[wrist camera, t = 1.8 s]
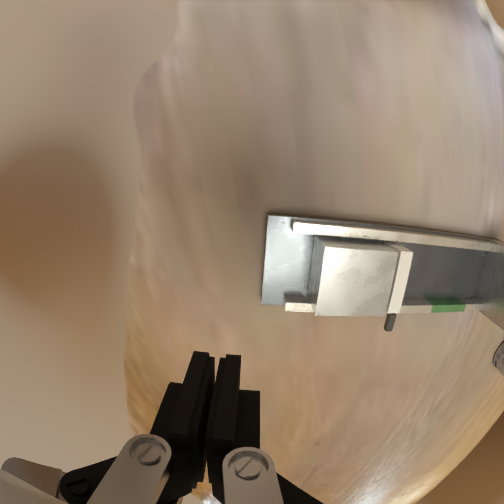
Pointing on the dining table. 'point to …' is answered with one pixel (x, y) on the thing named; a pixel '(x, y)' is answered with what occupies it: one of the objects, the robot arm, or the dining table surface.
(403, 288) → the white slab
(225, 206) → the dining table surface
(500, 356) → the energy drink
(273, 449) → the dining table surface
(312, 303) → the grey block
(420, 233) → the gauge bed
